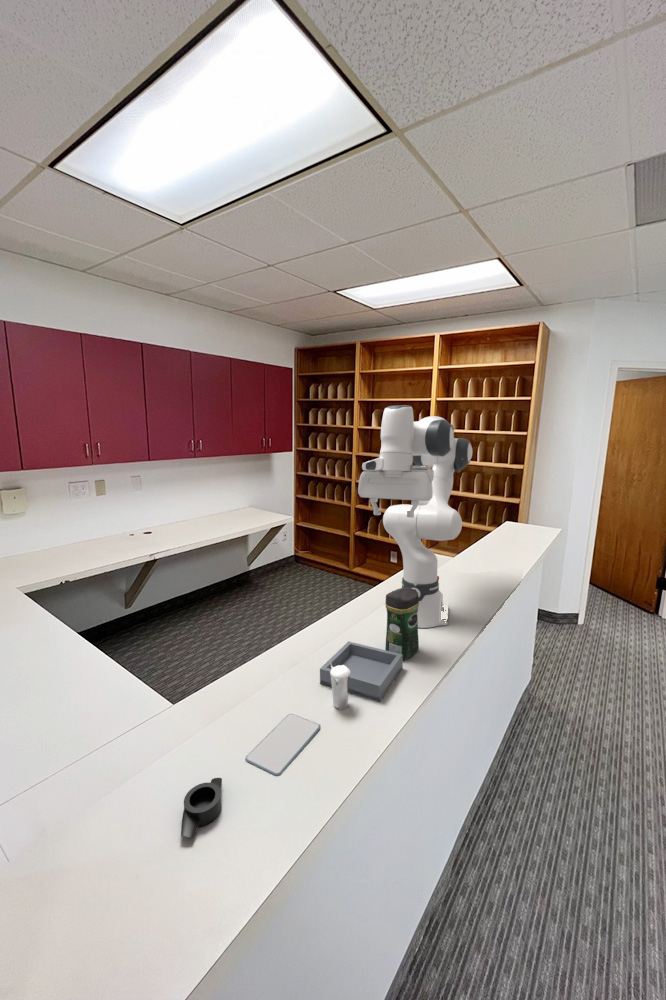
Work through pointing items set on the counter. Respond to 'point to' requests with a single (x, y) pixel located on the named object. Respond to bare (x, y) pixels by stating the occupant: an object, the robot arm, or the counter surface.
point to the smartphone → (283, 744)
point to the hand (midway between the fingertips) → (393, 516)
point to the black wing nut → (201, 807)
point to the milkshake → (340, 685)
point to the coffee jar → (402, 622)
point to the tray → (365, 669)
